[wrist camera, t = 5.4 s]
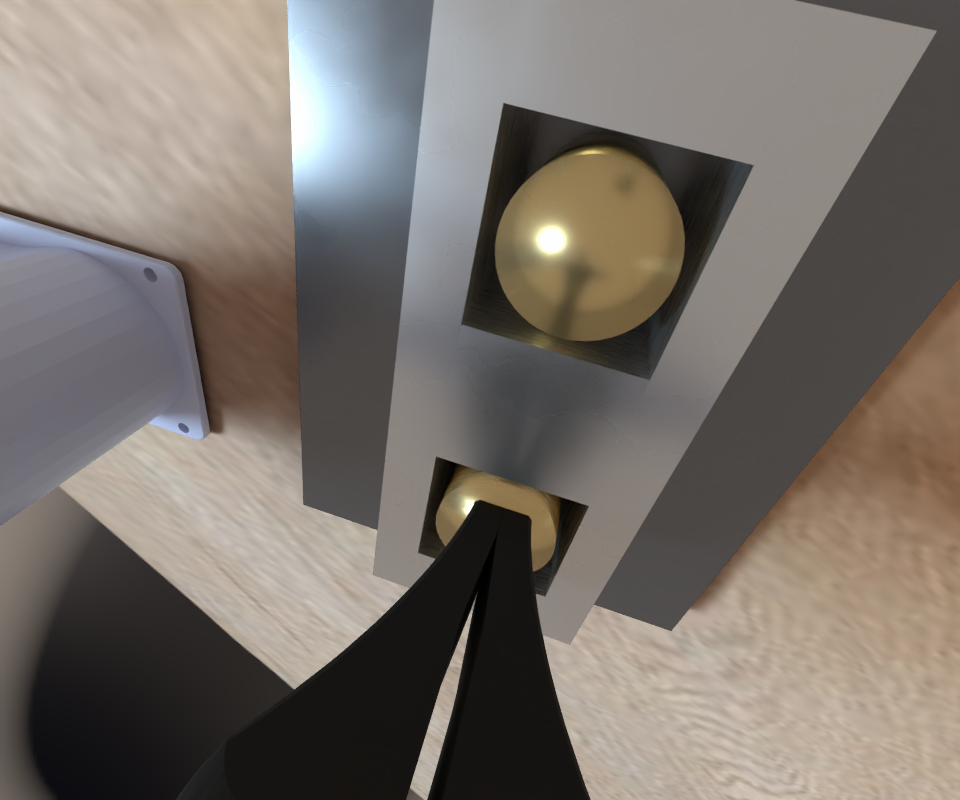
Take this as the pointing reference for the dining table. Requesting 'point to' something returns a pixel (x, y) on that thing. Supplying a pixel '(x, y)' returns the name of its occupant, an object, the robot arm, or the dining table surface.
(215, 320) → the dining table surface
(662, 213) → the pin
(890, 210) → the plate
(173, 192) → the dining table surface
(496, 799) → the robot arm
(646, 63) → the housing
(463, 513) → the pin
